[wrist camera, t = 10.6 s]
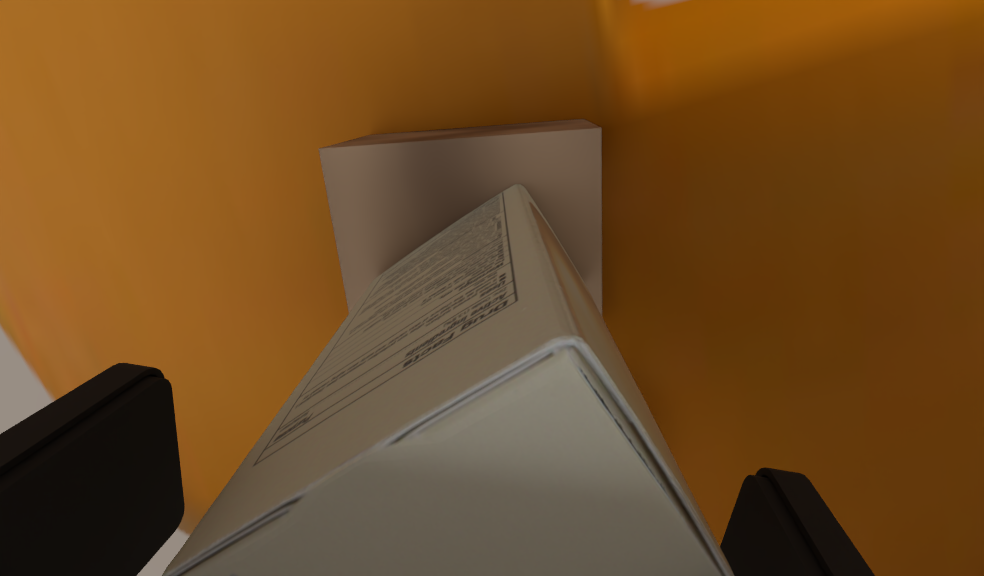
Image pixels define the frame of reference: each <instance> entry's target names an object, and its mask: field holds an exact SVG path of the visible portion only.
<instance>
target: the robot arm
mask: <svg viewBox="0 0 984 576" xmlns="http://www.w3.org/2000/svg"><path fill="white" fill-rule="evenodd" d="M183 514H184V497H183V487H182V478H181V469H180V459H179V450H178V441H177V431H176V422H175V413H174V404H173V394H172V387H171V383H170V382H169V381H168V380H167V379H164V375H163V373H162V372H161V371H160V370H159V369H157V368H153V367H147V366H140V365H134V364H128V363H118V364H116V365H113V366H112V367H110V368H108V369H107V370H105V371H103V372H102V373H100V374H98V375H97V376H95V377H94V378H92V379H90V380H89V381H87V382H85V383H84V384H82V385H80V386H79V387H77V388H75V389H74V390H72V391H70V392H69V393H67V394H66V395H64V396H62V397H61V398H59V399H57V400H56V401H54V402H52V403H51V404H49V405H48V406H46V407H44V408H43V409H41V410H39V411H38V412H36V413H34V414H33V415H31V416H29V417H28V418H26V419H25V420H23V421H21V422H20V423H18V424H16V425H15V426H13V427H11V428H10V429H8V430H6V431H5V432H3V433H1V434H0V576H137V574H138V573H139V572H140V571H141V570H142V569H143V567H144V566H145V565H146V564H147V563H148V562H149V561H150V559H151V558H152V557H153V556H154V555H155V554H156V552H157V551H158V550H159V549H160V548H161V547H162V546H163V544H164V543H165V542H166V541H167V540H168V539H169V538H170V536H171V535H172V534H173V533H174V532H175V530H176V529H177V528H178V526H179V524H180V522H181V520H182V517H183ZM720 548H721V550H722V552H723V554H724V556H725V558H726V559H727V561H728V563H729V565H730V567H731V569H732V572H733V574H734V576H875V575H874V574H873V572H872V571H871V569H870V568H869V566H868V565H867V564H866V562H865V561H864V559H863V558H862V556H861V555H860V553H859V552H858V550H857V549H856V548H855V546H854V545H853V543H852V542H851V540H850V539H849V537H848V536H847V534H846V533H845V531H844V530H843V529H842V527H841V526H840V524H839V523H838V521H837V520H836V518H835V517H834V515H833V514H832V513H831V511H830V510H829V508H828V507H827V505H826V504H825V502H824V501H823V499H822V498H821V496H820V495H819V494H818V492H817V491H816V489H815V488H814V486H813V485H812V483H811V482H810V480H809V479H808V478H807V477H806V476H805V475H803V474H800V473H795V472H789V471H783V470H777V469H771V468H761V469H760V470H759V471H758V472H757V473H756V475H755V476H754V475H748V476H747V477H746V478H745V480H744V482H743V484H742V487H741V490H740V493H739V495H738V498H737V501H736V504H735V507H734V509H733V512H732V515H731V518H730V521H729V523H728V526H727V529H726V532H725V535H724V537H723V540H722V543H721V546H720Z"/></svg>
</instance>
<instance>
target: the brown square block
mask: <svg viewBox="0 0 984 576" xmlns="http://www.w3.org/2000/svg"><path fill="white" fill-rule="evenodd" d="M319 153H320V159H321V164H322V170H323V175H324V180H325V186H326V191H327V197H328V202H329V207H330V213H331V218H332V224H333V229H334V234H335V240H336V245H337V251H338V256H339V261H340V267H341V272H342V278H343V283H344V288H345V294H346V299H347V305H348V310H349V313H350V312H351V311H352V309H353V308H354V306H355V305H356V303H357V302H358V301H359V299H360V298H361V297H362V295H363V294H364V292H365V291H366V290H367V288H368V287H369V285H370V284H371V283H372V281H373V280H374V279H375V278H377V277H378V276H379V275H381V274H382V273H383V272H385V271H386V270H388V269H389V268H390V267H392V266H393V265H394V264H396V263H397V262H399V261H400V260H401V259H403V258H404V257H405V256H407V255H408V254H410V253H411V252H413V251H414V250H415V249H417V248H418V247H420V246H421V245H423V244H424V243H425V242H427V241H428V240H430V239H431V238H433V237H434V236H436V235H437V234H439V233H440V232H442V231H443V230H445V229H446V228H447V227H449V226H450V225H452V224H453V223H455V222H456V221H458V220H459V219H461V218H462V217H464V216H465V215H467V214H468V213H470V212H472V211H473V210H475V209H476V208H478V207H479V206H481V205H482V204H484V203H485V202H487V201H488V200H490V199H492V198H493V197H495V196H496V195H498V194H500V193H501V192H503V191H505V190H506V189H508V188H510V187H511V186H513V185H515V184H521V185H522V186H524V187H525V188H526V190H527V191H528V193H529V194H530V196H531V197H532V199H533V200H534V202H535V203H536V205H537V207H538V208H539V210H540V211H541V213H542V214H543V216H544V217H545V219H546V220H547V222H548V223H549V225H550V227H551V228H552V230H553V232H554V233H555V235H556V236H557V238H558V240H559V241H560V243H561V245H562V246H563V248H564V249H565V251H566V253H567V254H568V256H569V258H570V259H571V261H572V263H573V264H574V266H575V268H576V269H577V271H578V273H579V274H580V276H581V278H582V279H583V281H584V283H585V285H586V287H587V289H588V291H589V293H590V294H591V296H592V298H593V300H594V302H595V304H596V306H597V308H598V310H599V312H600V314H601V316H602V128H601V127H599V126H597V125H595V124H593V123H591V122H589V121H587V120H585V119H575V120H561V121H548V122H535V123H522V124H508V125H495V126H482V127H468V128H455V129H442V130H429V131H415V132H402V133H389V134H376V135H368V136H364V137H361V138H357V139H353V140H349V141H346V142H342V143H338V144H334V145H331V146H327V147H323V148H319Z"/></svg>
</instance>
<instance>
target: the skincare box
mask: <svg viewBox="0 0 984 576" xmlns="http://www.w3.org/2000/svg"><path fill="white" fill-rule="evenodd" d="M162 576H734V574H733V572H732V569H731V567H730V565H729V563H728V561H727V559H726V558H725V556H724V554H723V552H722V550H721V548H720V546H719V545H718V543H717V541H716V539H715V537H714V535H713V533H712V532H711V530H710V528H709V526H708V524H707V522H706V520H705V518H704V516H703V514H702V512H701V510H700V508H699V506H698V504H697V503H696V501H695V499H694V497H693V495H692V493H691V491H690V489H689V487H688V485H687V483H686V481H685V479H684V477H683V475H682V473H681V471H680V469H679V467H678V465H677V463H676V461H675V459H674V457H673V455H672V453H671V452H670V450H669V448H668V446H667V444H666V442H665V440H664V438H663V436H662V434H661V432H660V430H659V428H658V426H657V424H656V422H655V420H654V418H653V416H652V414H651V412H650V410H649V408H648V406H647V404H646V402H645V400H644V398H643V396H642V394H641V392H640V390H639V389H638V387H637V385H636V383H635V381H634V379H633V377H632V375H631V373H630V371H629V369H628V367H627V365H626V363H625V361H624V359H623V357H622V355H621V353H620V351H619V350H618V348H617V346H616V344H615V342H614V340H613V338H612V336H611V334H610V332H609V330H608V328H607V326H606V324H605V322H604V320H603V318H602V316H601V314H600V312H599V310H598V308H597V306H596V304H595V302H594V300H593V298H592V296H591V294H590V293H589V291H588V289H587V287H586V285H585V283H584V281H583V279H582V278H581V276H580V274H579V273H578V271H577V269H576V268H575V266H574V264H573V263H572V261H571V259H570V258H569V256H568V254H567V253H566V251H565V249H564V248H563V246H562V245H561V243H560V241H559V240H558V238H557V236H556V235H555V233H554V232H553V230H552V228H551V227H550V225H549V223H548V222H547V220H546V219H545V217H544V216H543V214H542V213H541V211H540V210H539V208H538V207H537V205H536V203H535V202H534V200H533V199H532V197H531V196H530V194H529V193H528V191H527V190H526V188H525V187H524V186H522V185H521V184H515V185H513V186H511V187H510V188H508V189H506V190H505V191H503V192H501V193H500V194H498V195H496V196H495V197H493V198H492V199H490V200H488V201H487V202H485V203H484V204H482V205H481V206H479V207H478V208H476V209H475V210H473V211H472V212H470V213H468V214H467V215H465V216H464V217H462V218H461V219H459V220H458V221H456V222H455V223H453V224H452V225H450V226H449V227H447V228H446V229H445V230H443V231H442V232H440V233H439V234H437V235H436V236H434V237H433V238H431V239H430V240H428V241H427V242H425V243H424V244H423V245H421V246H420V247H418V248H417V249H415V250H414V251H413V252H411V253H410V254H408V255H407V256H405V257H404V258H403V259H401V260H400V261H399V262H397V263H396V264H394V265H393V266H392V267H390V268H389V269H388V270H386V271H385V272H383V273H382V274H381V275H379V276H378V277H377V278H375V279H374V280H373V281H372V283H371V284H370V285H369V287H368V288H367V290H366V291H365V292H364V294H363V295H362V297H361V298H360V299H359V301H358V302H357V303H356V305H355V306H354V308H353V309H352V311H351V312H350V313H349V315H348V316H347V318H346V319H345V321H344V322H343V323H342V325H341V326H340V327H339V329H338V330H337V332H336V333H335V334H334V336H333V337H332V339H331V340H330V341H329V343H328V344H327V345H326V347H325V348H324V350H323V351H322V352H321V354H320V355H319V357H318V358H317V359H316V361H315V362H314V364H313V365H312V366H311V368H310V369H309V371H308V372H307V374H306V375H305V376H304V378H303V379H302V380H301V382H300V383H299V384H298V386H297V387H296V389H295V390H294V391H293V393H292V394H291V395H290V397H289V398H288V400H287V401H286V402H285V404H284V405H283V407H282V408H281V409H280V411H279V412H278V414H277V415H276V416H275V418H274V419H273V420H272V422H271V423H270V425H269V426H268V427H267V429H266V430H265V432H264V433H263V435H262V436H261V437H260V439H259V440H258V441H257V443H256V444H255V445H254V447H253V448H252V450H251V451H250V452H249V454H248V455H247V456H246V458H245V459H244V461H243V462H242V464H241V465H240V466H239V468H238V469H237V471H236V472H235V474H234V475H233V476H232V478H231V479H230V481H229V482H228V483H227V485H226V486H225V488H224V489H223V490H222V492H221V493H220V494H219V496H218V497H217V499H216V500H215V501H214V503H213V504H212V505H211V507H210V508H209V510H208V511H207V513H206V514H205V515H204V517H203V518H202V520H201V521H200V522H199V524H198V525H197V527H196V528H195V530H194V531H193V532H192V534H191V535H190V537H189V538H188V540H187V541H186V542H185V544H184V545H183V547H182V548H181V550H180V551H179V552H178V554H177V555H176V556H175V557H174V559H173V560H172V561H171V563H170V564H169V565H168V567H167V568H166V570H165V571H164V573H163V575H162Z"/></svg>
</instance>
